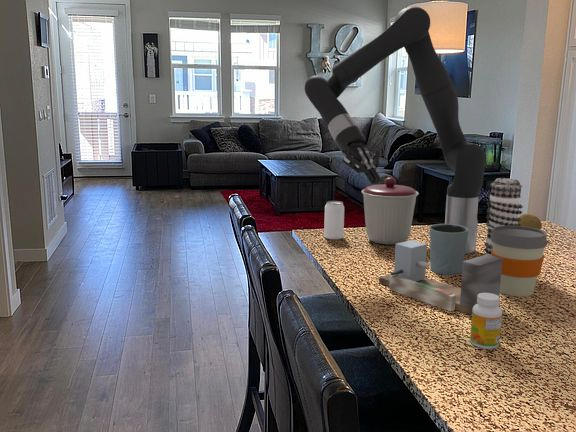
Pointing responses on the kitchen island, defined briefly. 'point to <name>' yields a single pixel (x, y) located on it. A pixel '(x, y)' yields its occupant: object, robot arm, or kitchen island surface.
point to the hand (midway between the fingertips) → (376, 182)
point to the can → (334, 220)
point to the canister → (389, 212)
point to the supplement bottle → (486, 321)
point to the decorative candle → (502, 207)
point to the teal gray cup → (447, 248)
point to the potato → (530, 221)
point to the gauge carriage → (410, 260)
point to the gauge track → (475, 279)
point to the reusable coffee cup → (519, 257)
